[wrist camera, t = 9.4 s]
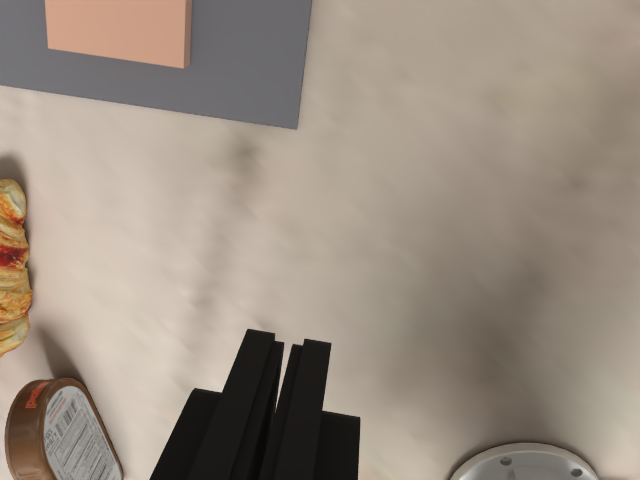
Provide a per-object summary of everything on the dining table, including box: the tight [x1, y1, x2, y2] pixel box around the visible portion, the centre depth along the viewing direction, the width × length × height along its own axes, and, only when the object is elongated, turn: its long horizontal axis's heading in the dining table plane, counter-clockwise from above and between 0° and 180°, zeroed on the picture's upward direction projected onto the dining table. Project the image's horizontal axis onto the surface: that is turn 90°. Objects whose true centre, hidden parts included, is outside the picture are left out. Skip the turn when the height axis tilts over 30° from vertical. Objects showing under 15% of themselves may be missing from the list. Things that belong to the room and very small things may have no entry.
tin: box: [5, 378, 123, 480], centre depth 45 cm, size 15×3×8 cm, turn 11°
